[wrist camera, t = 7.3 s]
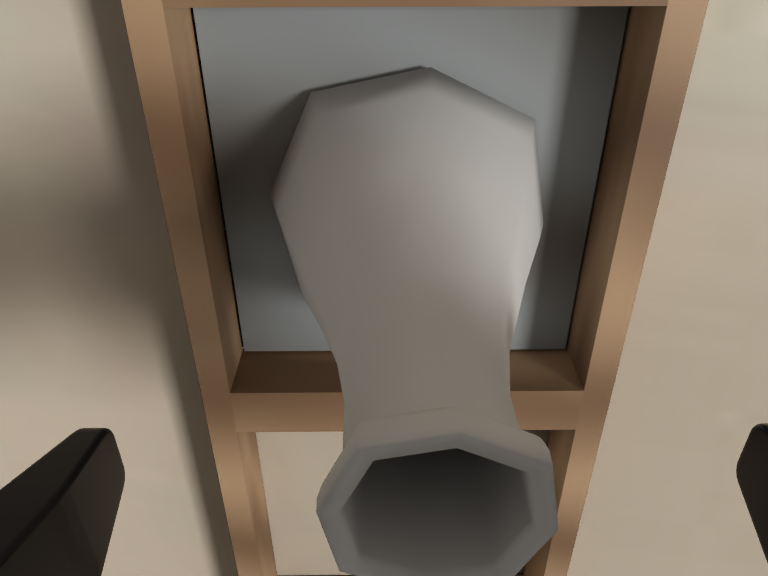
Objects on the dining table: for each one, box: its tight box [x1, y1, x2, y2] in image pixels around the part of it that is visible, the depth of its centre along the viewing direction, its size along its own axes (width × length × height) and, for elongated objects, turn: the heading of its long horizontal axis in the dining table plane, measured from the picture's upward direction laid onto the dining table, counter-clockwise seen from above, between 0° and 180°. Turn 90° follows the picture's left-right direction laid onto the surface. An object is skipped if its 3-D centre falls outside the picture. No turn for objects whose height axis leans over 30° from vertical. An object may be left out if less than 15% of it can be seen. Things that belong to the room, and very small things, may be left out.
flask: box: [269, 67, 558, 576], centre depth 12 cm, size 7×7×10 cm
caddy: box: [121, 0, 709, 576], centre depth 19 cm, size 23×12×2 cm, turn 0°
